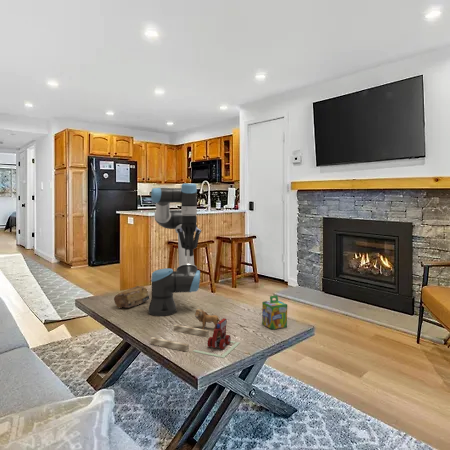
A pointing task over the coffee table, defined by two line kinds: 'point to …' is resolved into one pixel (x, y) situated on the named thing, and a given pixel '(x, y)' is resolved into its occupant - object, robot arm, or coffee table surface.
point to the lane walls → (176, 344)
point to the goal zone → (217, 354)
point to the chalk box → (274, 313)
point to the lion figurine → (206, 317)
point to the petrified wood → (131, 297)
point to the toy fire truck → (219, 336)
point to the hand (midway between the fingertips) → (189, 262)
